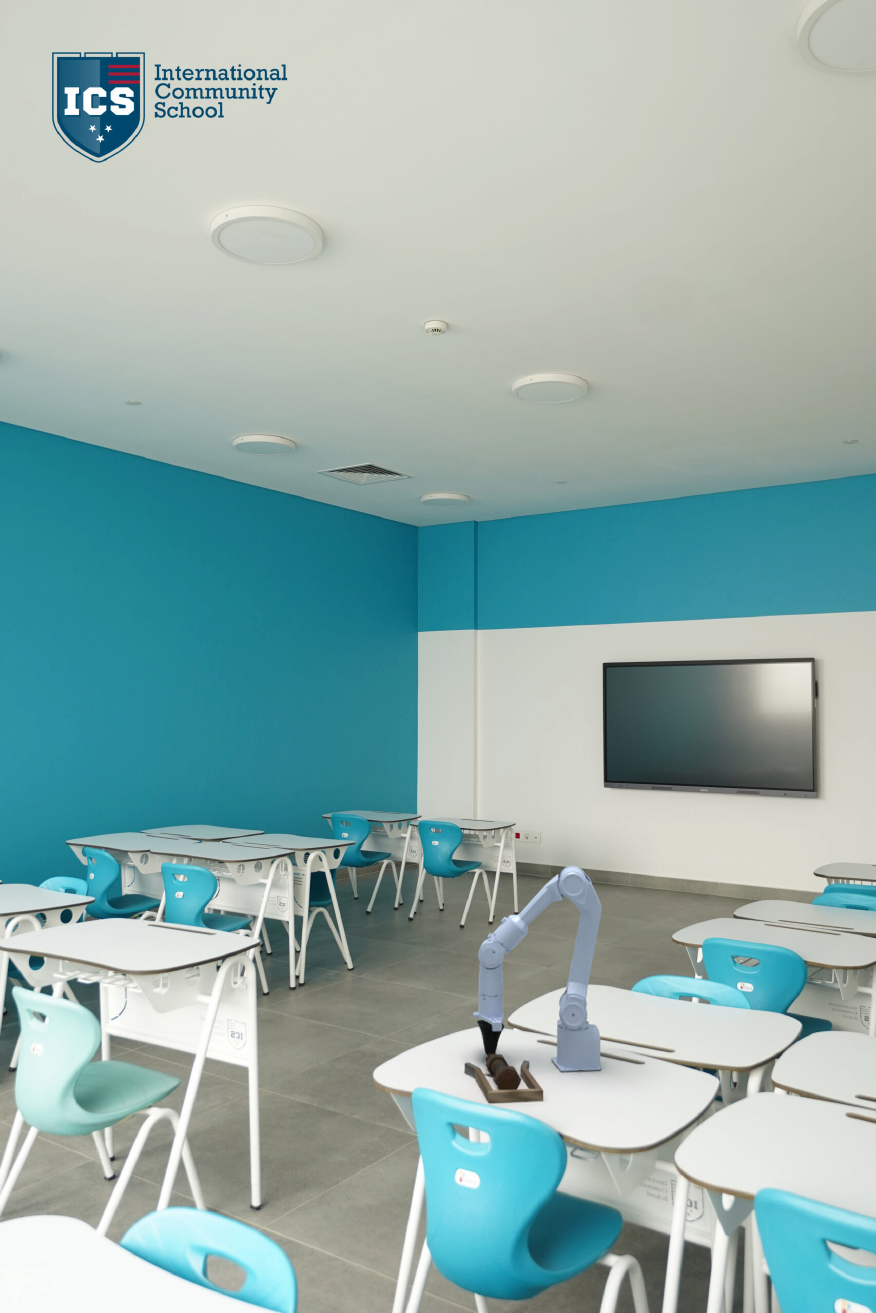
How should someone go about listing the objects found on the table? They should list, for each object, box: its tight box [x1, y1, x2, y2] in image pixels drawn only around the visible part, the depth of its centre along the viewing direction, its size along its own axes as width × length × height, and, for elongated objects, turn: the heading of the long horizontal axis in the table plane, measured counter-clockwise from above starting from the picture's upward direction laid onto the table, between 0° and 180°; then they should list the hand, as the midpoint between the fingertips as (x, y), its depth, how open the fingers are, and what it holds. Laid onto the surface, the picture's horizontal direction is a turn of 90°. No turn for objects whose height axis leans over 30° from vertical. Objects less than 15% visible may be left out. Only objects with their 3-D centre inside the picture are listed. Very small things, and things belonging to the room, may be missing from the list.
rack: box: [464, 1059, 544, 1104], centre depth 203 cm, size 15×18×2 cm
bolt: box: [485, 1053, 522, 1090], centre depth 206 cm, size 6×5×15 cm
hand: (490, 1053), depth 218 cm, fingers closed
